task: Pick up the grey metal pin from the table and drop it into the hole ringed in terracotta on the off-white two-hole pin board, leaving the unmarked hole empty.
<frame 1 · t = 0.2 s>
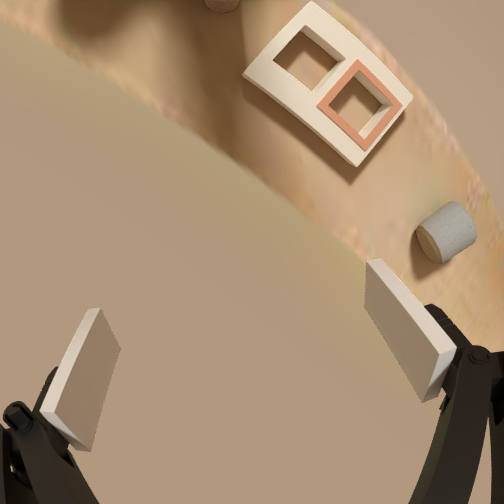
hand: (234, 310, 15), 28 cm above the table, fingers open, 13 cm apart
pin board: (329, 83, 35), on the table
ceramic mug: (435, 230, 46), on the table
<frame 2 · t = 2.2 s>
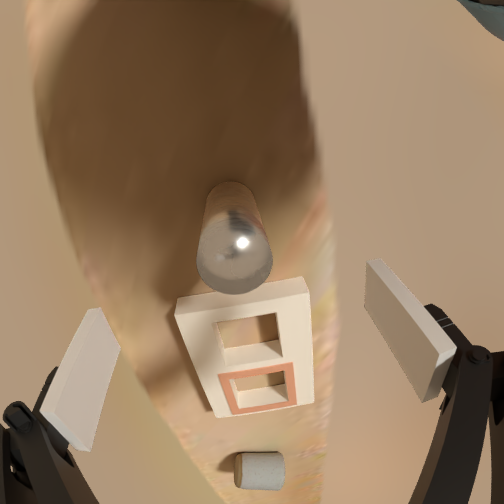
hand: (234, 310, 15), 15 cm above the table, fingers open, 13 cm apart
pin board: (252, 350, 36), on the table
ceramic mug: (256, 456, 49), on the table
pin: (230, 205, 28), on the table
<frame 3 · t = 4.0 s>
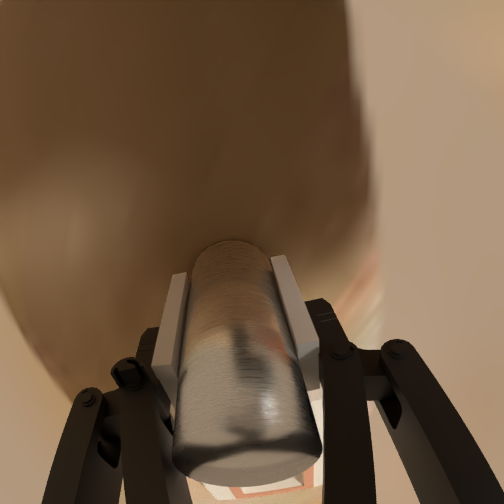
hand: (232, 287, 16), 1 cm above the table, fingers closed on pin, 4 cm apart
pin board: (261, 438, 25), on the table
pin: (232, 276, 17), on the table, touching gripper
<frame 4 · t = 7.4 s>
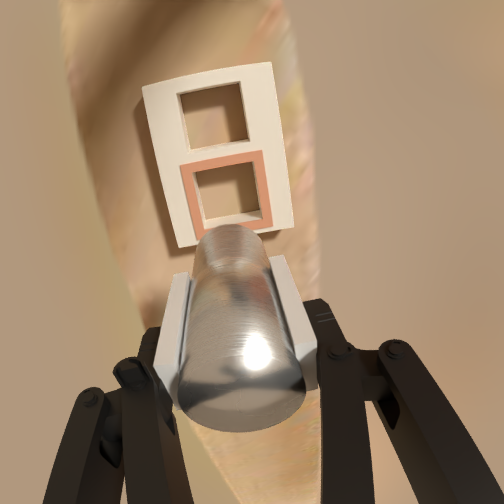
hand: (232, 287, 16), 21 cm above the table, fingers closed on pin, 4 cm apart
pin board: (220, 152, 33), on the table
pin: (230, 257, 20), point 17 cm above the table, touching gripper
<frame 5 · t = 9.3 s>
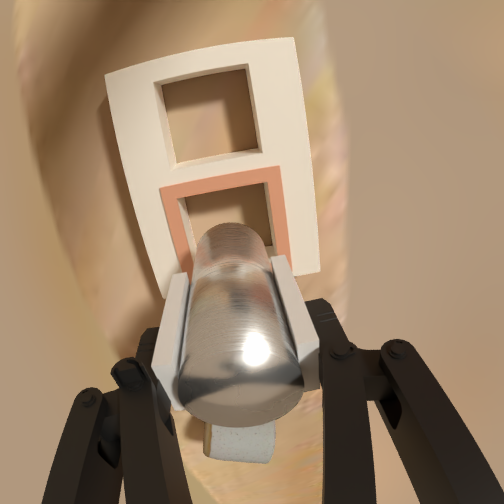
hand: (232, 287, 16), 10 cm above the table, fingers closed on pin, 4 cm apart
pin board: (219, 167, 24), on the table
ceramic mug: (236, 415, 38), on the table
pin: (230, 255, 20), point 6 cm above the table, touching gripper
when the fingers open (5 cm above the table, at t = 10.6 s): pin drops 2 cm, resting in pin board.
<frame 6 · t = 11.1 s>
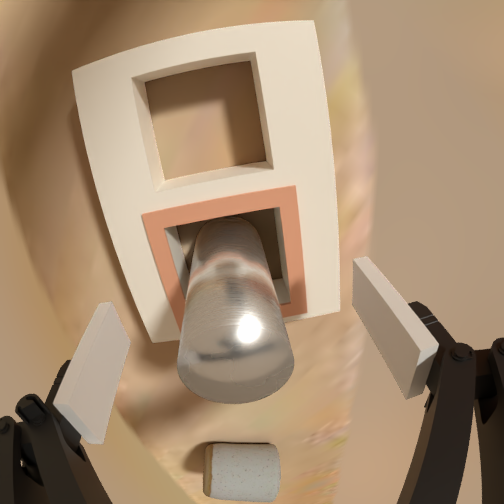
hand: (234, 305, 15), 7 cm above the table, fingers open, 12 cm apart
pin board: (217, 185, 19), on the table
ceramic mug: (238, 450, 33), on the table
pin: (228, 246, 21), resting in pin board
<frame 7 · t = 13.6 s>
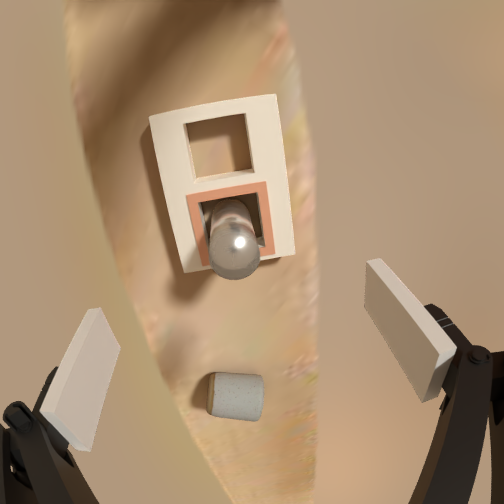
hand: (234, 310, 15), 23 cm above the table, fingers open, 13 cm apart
pin board: (225, 181, 35), on the table
ceramic mug: (233, 383, 49), on the table
pin: (230, 216, 37), resting in pin board
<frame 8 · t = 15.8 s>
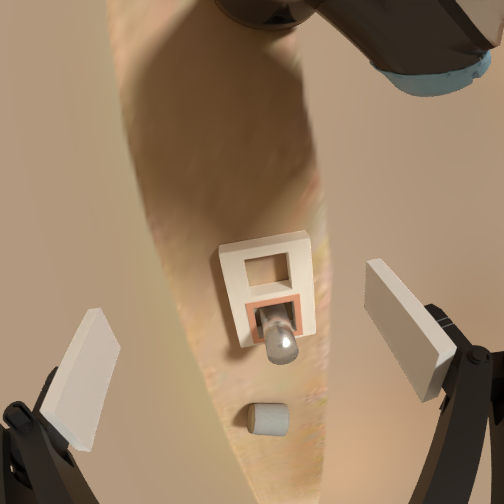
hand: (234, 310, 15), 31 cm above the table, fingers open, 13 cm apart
pin board: (269, 288, 51), on the table
ceramic mug: (265, 409, 65), on the table
pin: (272, 309, 52), resting in pin board
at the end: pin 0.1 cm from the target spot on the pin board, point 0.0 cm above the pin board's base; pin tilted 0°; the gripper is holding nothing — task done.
